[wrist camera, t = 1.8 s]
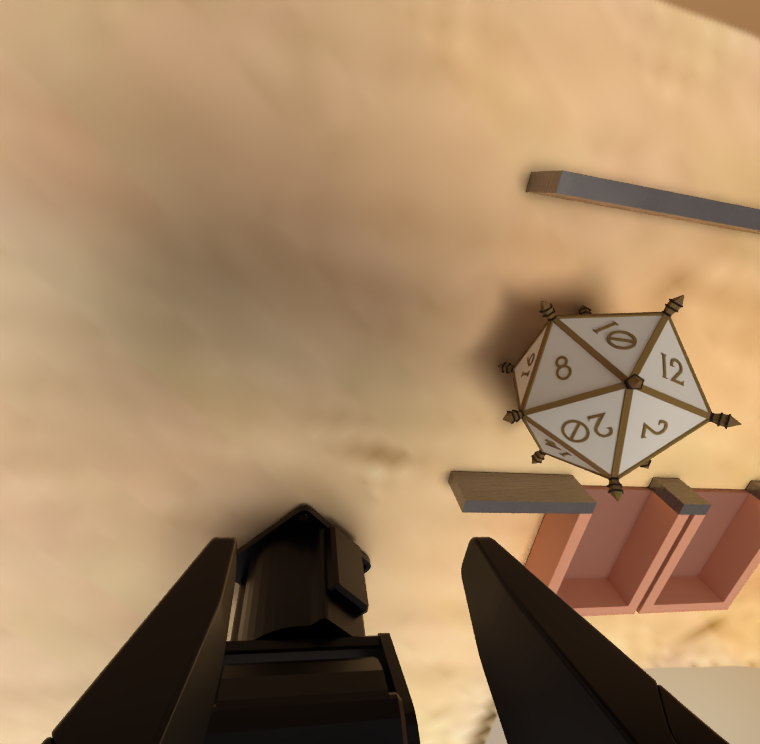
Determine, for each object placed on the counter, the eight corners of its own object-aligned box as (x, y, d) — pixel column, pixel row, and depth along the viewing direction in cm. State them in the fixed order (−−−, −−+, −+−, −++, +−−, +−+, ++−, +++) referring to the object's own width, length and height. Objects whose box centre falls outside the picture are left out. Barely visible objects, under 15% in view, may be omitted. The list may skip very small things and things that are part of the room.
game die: (515, 364, 27) (525, 528, 21) (470, 273, 21) (469, 472, 15) (686, 333, 22) (751, 529, 17) (693, 208, 16) (796, 452, 11)
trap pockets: (517, 585, 30) (534, 618, 27) (556, 485, 26) (580, 513, 24) (698, 580, 33) (727, 609, 31) (754, 490, 29) (791, 515, 27)
